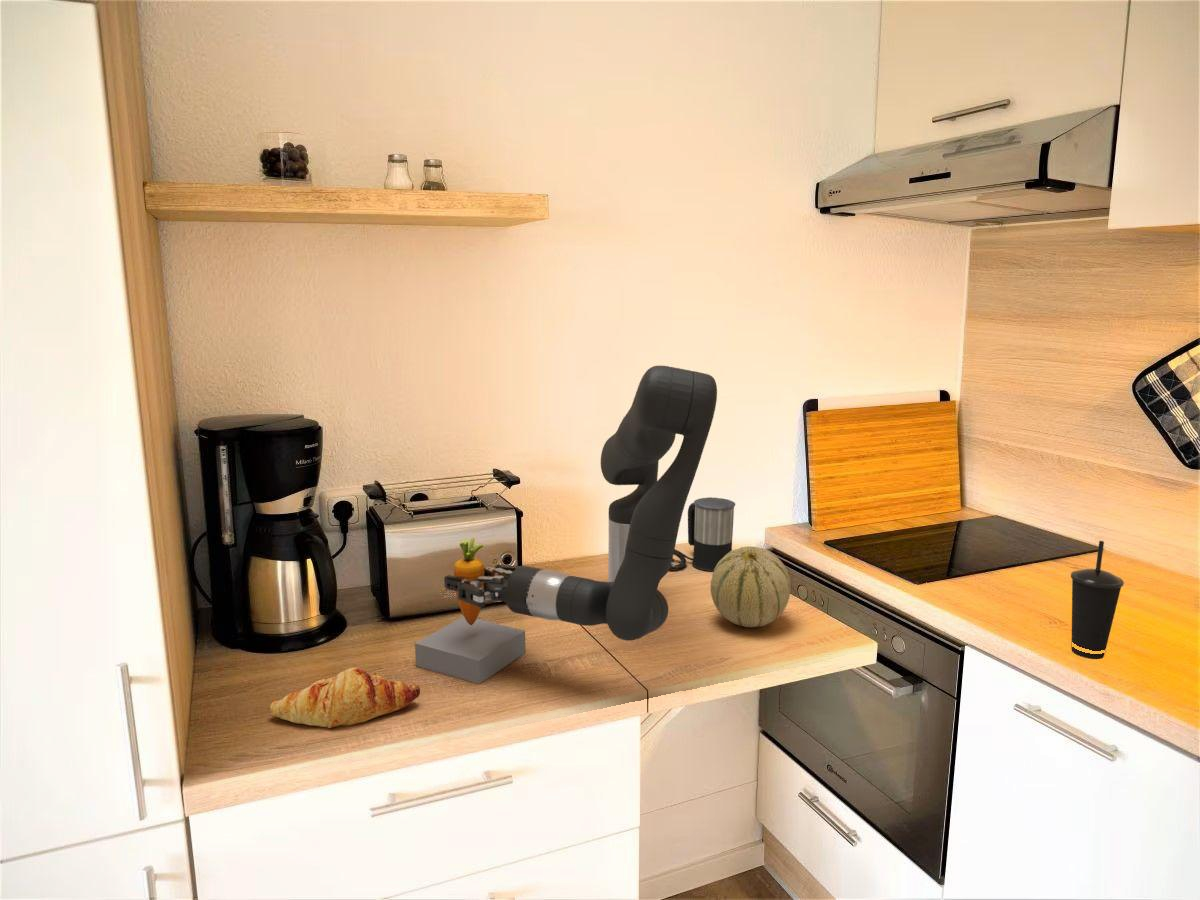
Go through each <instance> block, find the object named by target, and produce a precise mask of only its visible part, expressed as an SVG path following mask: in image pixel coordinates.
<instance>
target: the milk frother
mask: <svg viewBox="0 0 1200 900" xmlns="http://www.w3.org/2000/svg"><path fill="white" fill-rule="evenodd" d="M735 506H736V503H735V502H734V501H732V500H731V499H727V498H723V497H709V496H708V497H701V498H698V499H697V498H696V499H695V500H694V501H693V502H692V503H690V504H689V506H688V509H687V542H688V545H690V546H693V552H692V553H693V556H692V558H691V557H689V556H687V555H686V554H685V553H683V552H682V551H680V550H678V549H676V548H675V549H674V554H673V556H675V557H677V558H678V559H679V560H680V563H679V564H678V563H677V564H675V563H674V562H675V558H673V559H672V563H671V566H670V569H669V570H673V571H677V570H682V569H684V568H685V567H686V566H687V560H691V561H692V562H691V565H692V567H693V568H696V569H698V570H701V571H705V572H714V569H715V567H716V565H717V564H718V562H719V561H720V560H721V559H722V558H723V557H724V556H725V555H726V554H728V553H729V552H730V551H732V550H733V535H734V518H735V516H734V515H735Z"/></svg>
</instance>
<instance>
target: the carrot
mask: <svg viewBox="0 0 1200 900" xmlns="http://www.w3.org/2000/svg"><path fill="white" fill-rule="evenodd" d="M475 539H476V538H475V537H471V538H470V539H469V540H470V541H468V539H467V540H466V539H464V540H463V541H460V543H459V546H460V548H461V549H462V554H463V558H460V559H459V560H457V561H456V562H455V563H454V565H453V576H456V577H462V578H466V579H476V578H477V577H478V576H484V568H485V565H484V562H483V561H482V560H481V559H479V558H477V557H475V555H476V553H477V552H478V551H479V550H480V549H482V548H483V547H484V544H482V543H478V544H477V545H476V546H475V547H474V545H475V541H476V540H475ZM469 585H472V586H474V587H475V585H474V584H469ZM482 589H483V590H484V582H482ZM455 594H456V599H457V602H458V605H459V609H460V611H461V614H462V617H463V616H464V618H465V619H466V621H467V623H468V624H470V625H473V624H474V623H475V621H476V619H478V616H479V615H480V612H481V609H482V607H477V606H475V605H472V604H470V603H467V602H465V601H462V600H459V599H458V591H455Z"/></svg>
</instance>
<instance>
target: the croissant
mask: <svg viewBox="0 0 1200 900" xmlns="http://www.w3.org/2000/svg"><path fill="white" fill-rule="evenodd" d="M420 695H421V687H420V685H419V684H416V683H414V684H406V683H405V682H404V681H401V680H396V679H395V680H388V679H386V678H385V677H383V676H381V675H379V674H377V673H367V671H365V670H364V669H363V668H361V667H352V666H351V667H349V668H346V669H344V670H342V671H340V672H339V673H338V674H337V675H335V676H332V677H326V678H322V679H319V680H317V681H315V682H313V683H312V684H311V685H309V686H307V687H305V688H303V689H299V690H298V689H297V690H295V691H292V692H291V693H289V694H287V695H285V696H284V697H283V698H282V699H279V700H274V701H272V703H271V704H270V706H269V709H270V714H272V715H273V716H274V717H277V718H279V719H281V720H285V721H287V722H288V721H289V722H291V723H294V724H302V725H307V726H316V727H321V728H322V727H324V728H328V729H331V728H334V727H338V726H353V725H356V724H360V723H365V722H367V721H369V720H372V719H374V718H378V717H379V716H384V715H388V714H391V713H394V712H396V711H399V710H401V709H404V708H405V707H407V706H408V705H409V704H410V703H412V702H413V701H414V700H416V699H418V698H419V697H420Z"/></svg>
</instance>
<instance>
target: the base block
mask: <svg viewBox="0 0 1200 900" xmlns="http://www.w3.org/2000/svg"><path fill="white" fill-rule="evenodd" d="M414 653H415V654H414V656H415V666H416V667H418V668H423V669H424V670H425V669H426V670H429V671H431V672H436V673H439V674H443V675H446V676H449V677H454V678H457V679H460V680H464V681H467V682H471V683H473V684H478V685H481V684H482V683H483V682H485V681H486V680H487V679H489V678H491V677H492V676H493V675H495V674H497V672H499V671H500V670H502V669H503V668H505V667H507V666H508V665H510V664H511V663H512V662H514V661H515V660H518V658H520V657H521V656H522V655H524V654H525V653H526V630H525V629H520V628H516V627H512V626H507V625H503V624H500V623H495V622H492V621H488V620H487V621H486V620H482V619H479V618H477V619H476V621H475V623H474V624H473V625H470V624H468V623H467V621H466V619H465V618H464V616H463V615H462V617H460V618H458V619H456V620H454V621H453V622H451V623H450V624H447V625H445V626H443V627H442V628H440V629H438V630H436V631H434V632H432V633H431V634H429V635H427V636H425V637H424V638H422V639H420V640H418V641H416V642H415V643H414Z"/></svg>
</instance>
